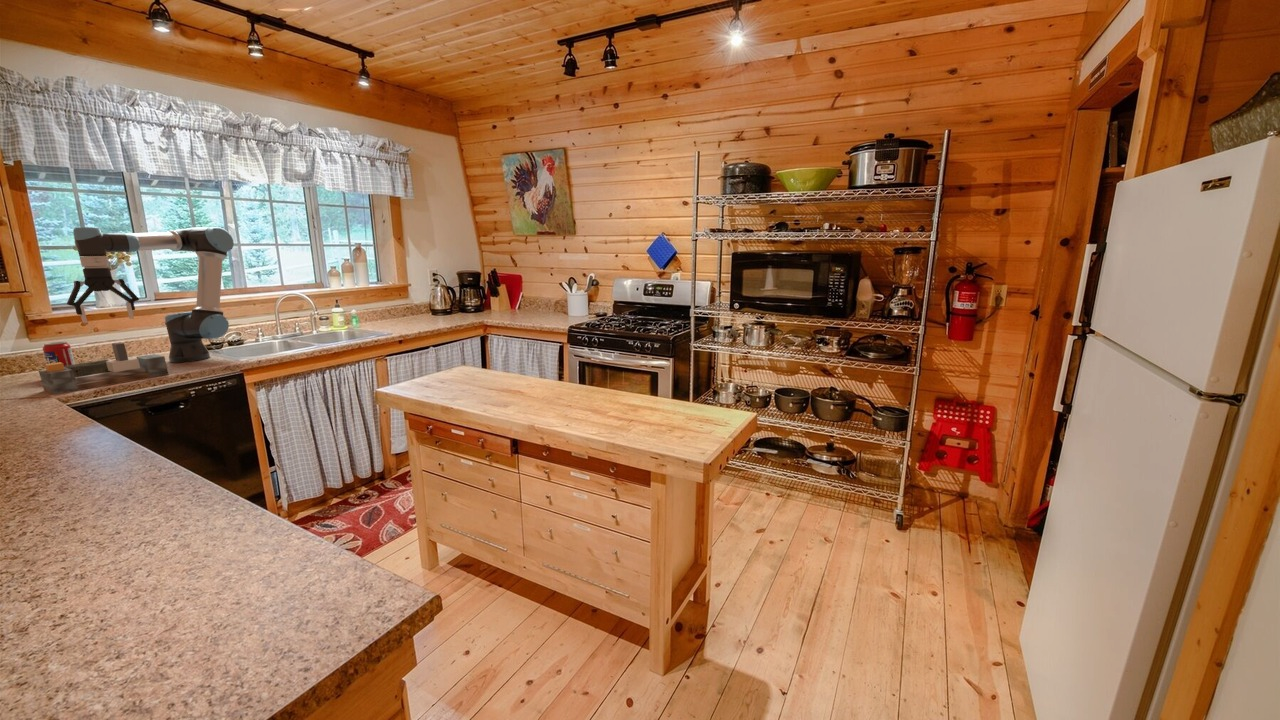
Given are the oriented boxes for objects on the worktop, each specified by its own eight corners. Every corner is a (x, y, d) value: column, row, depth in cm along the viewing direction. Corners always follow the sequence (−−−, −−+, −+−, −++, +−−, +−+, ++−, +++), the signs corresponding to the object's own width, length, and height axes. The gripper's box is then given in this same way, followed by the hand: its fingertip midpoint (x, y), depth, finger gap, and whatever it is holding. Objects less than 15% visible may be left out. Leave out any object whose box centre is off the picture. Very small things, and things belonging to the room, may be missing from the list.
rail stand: (158, 371, 224) (154, 354, 222) (168, 374, 219) (164, 356, 217) (44, 391, 196) (38, 370, 194) (52, 394, 190) (46, 373, 188)
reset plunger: (63, 373, 197) (60, 362, 196) (66, 374, 195) (63, 363, 194) (47, 375, 194) (44, 364, 193) (50, 376, 192) (47, 365, 191)
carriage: (134, 366, 216) (128, 341, 213) (140, 368, 212) (134, 342, 210) (108, 370, 209) (101, 344, 207) (114, 372, 205) (107, 345, 203)
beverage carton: (118, 374, 222) (114, 359, 220) (54, 385, 206) (49, 369, 204) (111, 372, 226) (108, 358, 224) (48, 383, 209) (43, 367, 208)
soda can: (81, 375, 221) (72, 341, 217) (55, 379, 214) (45, 344, 210) (73, 373, 224) (64, 340, 221) (47, 378, 217) (37, 343, 214)
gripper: (52, 268, 188) (67, 325, 193) (141, 266, 209) (153, 317, 214) (46, 268, 192) (61, 324, 197) (134, 266, 213) (146, 316, 218)
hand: (109, 320), depth 205 cm, fingers open, 13 cm apart
